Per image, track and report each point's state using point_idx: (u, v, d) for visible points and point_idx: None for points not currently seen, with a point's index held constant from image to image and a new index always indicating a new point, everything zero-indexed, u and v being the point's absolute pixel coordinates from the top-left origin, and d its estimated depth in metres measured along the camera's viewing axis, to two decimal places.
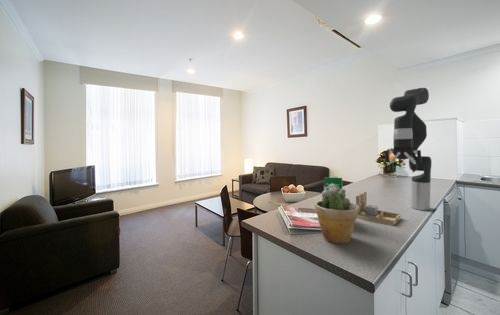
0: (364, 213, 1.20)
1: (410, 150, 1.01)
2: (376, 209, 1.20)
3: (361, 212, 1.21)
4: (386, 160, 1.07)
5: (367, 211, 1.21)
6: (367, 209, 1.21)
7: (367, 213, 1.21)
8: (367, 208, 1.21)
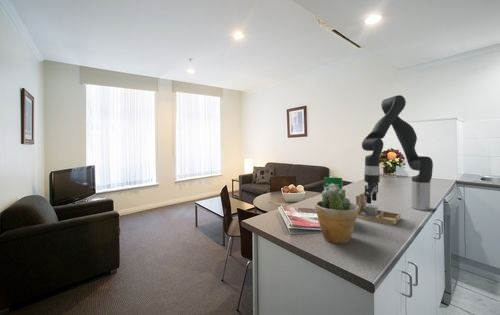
0: (364, 213, 1.20)
1: (375, 183, 1.22)
2: (376, 209, 1.20)
3: (361, 212, 1.21)
4: (369, 195, 1.16)
5: (367, 211, 1.21)
6: (367, 209, 1.21)
7: (367, 213, 1.21)
8: (367, 208, 1.21)
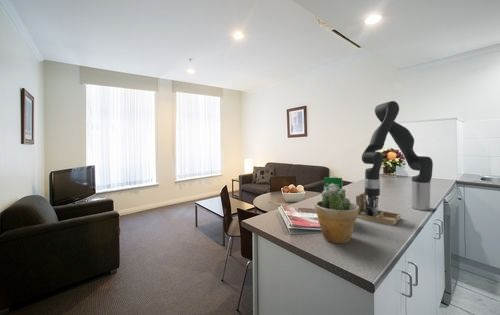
0: (364, 213, 1.20)
1: None
2: (376, 209, 1.20)
3: (361, 212, 1.21)
4: (371, 209, 1.17)
5: (367, 211, 1.21)
6: None
7: (367, 213, 1.21)
8: None
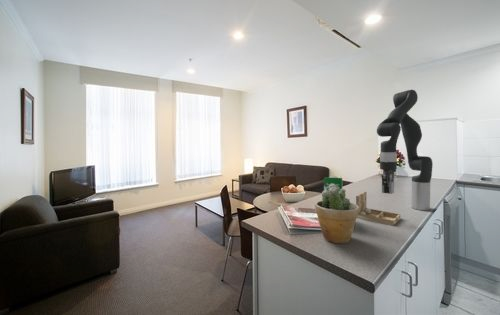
0: (364, 213, 1.20)
1: None
2: (392, 184, 1.13)
3: (361, 212, 1.21)
4: (388, 184, 1.11)
5: (383, 186, 1.15)
6: None
7: (383, 189, 1.15)
8: None
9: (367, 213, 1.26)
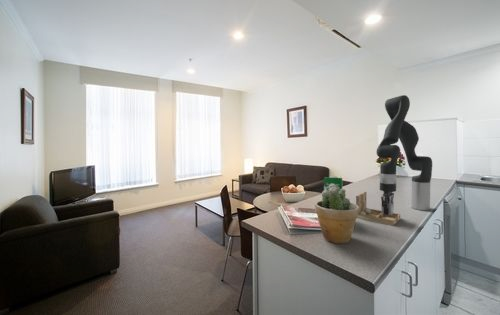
0: (364, 213, 1.20)
1: (391, 192, 1.17)
2: (392, 205, 1.14)
3: (361, 212, 1.21)
4: (387, 205, 1.11)
5: (382, 207, 1.15)
6: None
7: (382, 210, 1.16)
8: None
9: (367, 213, 1.26)
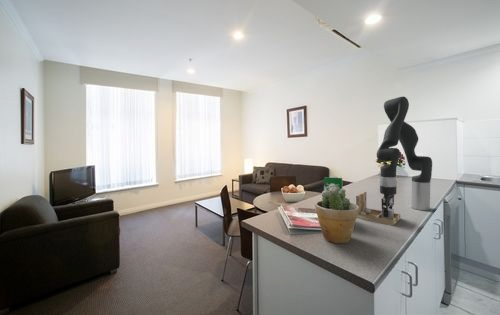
0: (364, 213, 1.20)
1: (392, 195, 1.17)
2: (392, 212, 1.14)
3: (361, 212, 1.21)
4: (387, 208, 1.11)
5: (382, 214, 1.16)
6: None
7: (383, 216, 1.16)
8: (382, 211, 1.15)
9: (367, 213, 1.26)
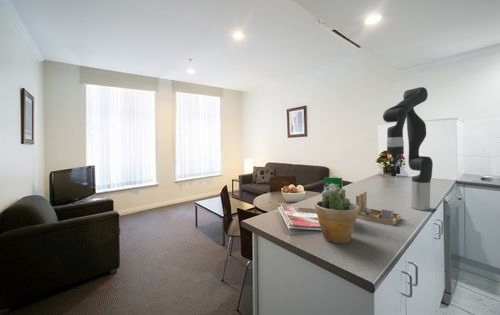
0: (364, 213, 1.20)
1: (399, 156, 1.18)
2: (392, 212, 1.14)
3: (361, 212, 1.21)
4: (395, 167, 1.12)
5: (382, 214, 1.16)
6: (383, 212, 1.15)
7: (383, 216, 1.16)
8: (382, 211, 1.15)
9: (367, 213, 1.26)
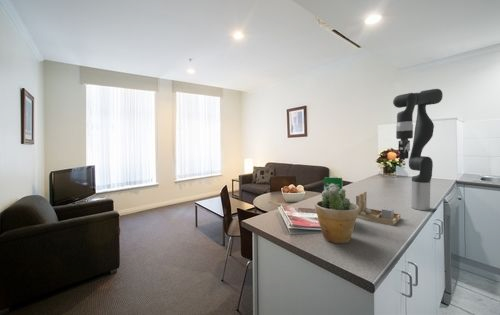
0: (364, 213, 1.20)
1: (408, 140, 1.21)
2: (392, 212, 1.14)
3: (361, 212, 1.21)
4: (404, 150, 1.15)
5: (382, 214, 1.16)
6: (383, 212, 1.15)
7: (383, 216, 1.16)
8: (382, 211, 1.15)
9: (367, 213, 1.26)
